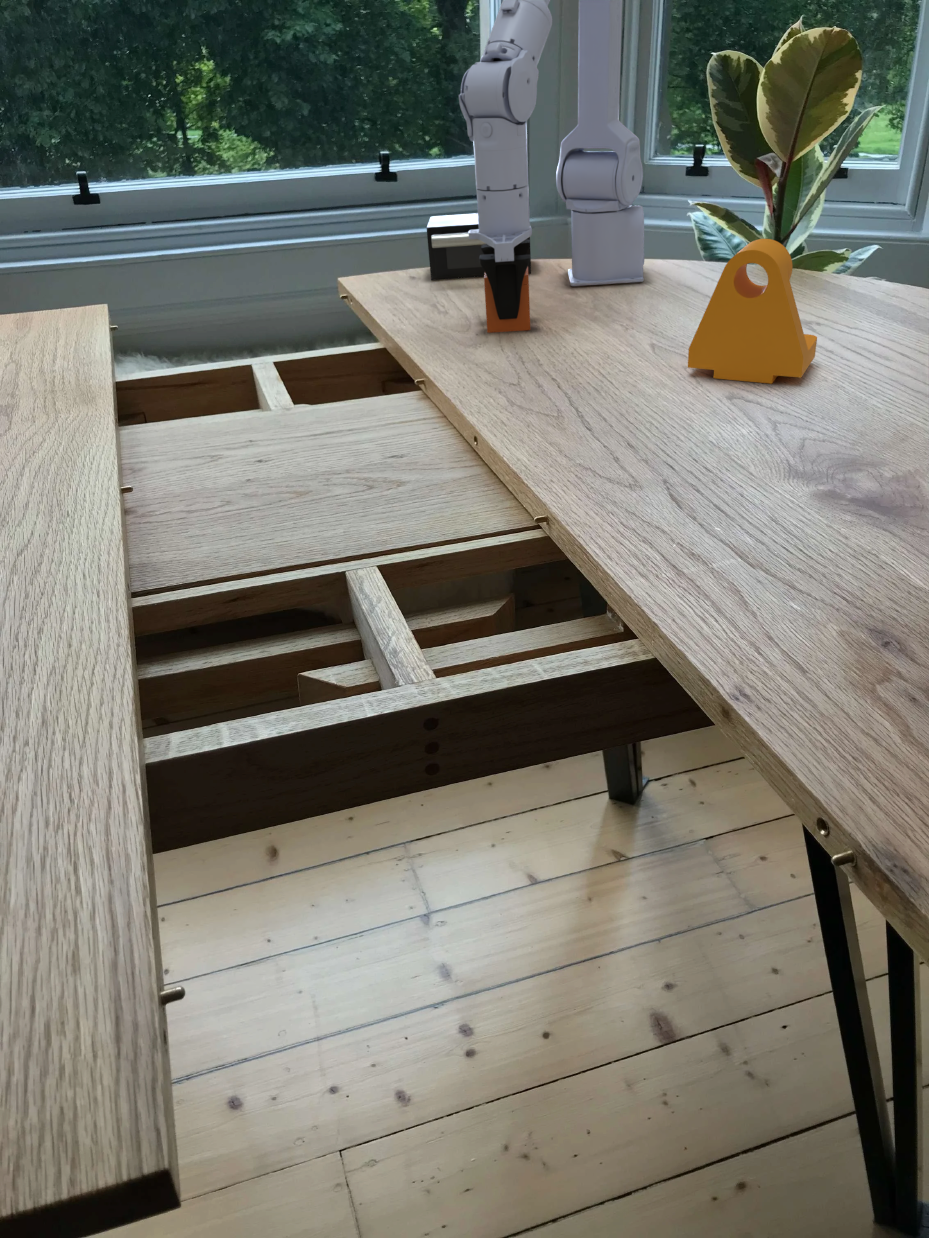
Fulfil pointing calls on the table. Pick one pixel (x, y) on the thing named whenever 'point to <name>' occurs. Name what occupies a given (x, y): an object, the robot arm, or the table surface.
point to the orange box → (508, 324)
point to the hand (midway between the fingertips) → (508, 312)
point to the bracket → (753, 321)
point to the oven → (455, 247)
